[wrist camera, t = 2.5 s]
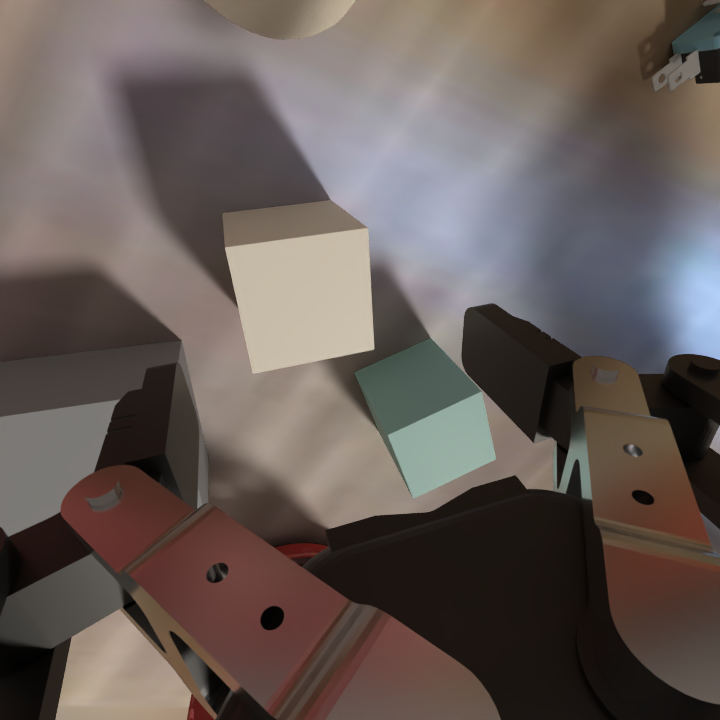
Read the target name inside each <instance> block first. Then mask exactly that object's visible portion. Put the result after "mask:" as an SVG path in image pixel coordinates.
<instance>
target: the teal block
mask: <svg viewBox="0 0 720 720" xmlns="http://www.w3.org/2000/svg"><path fill="white" fill-rule="evenodd" d="M354 373H355V376H356V378H357V380H358V383H359V385H360V388H361V390H362V393H363V395H364V397H365V400H366V402H367V405H368V407H369V409H370V412H371V414H372V417H373V419H374V421H375V424H376V426H377V429H378V431H379V433H380V435H381V437H382V439H383V441H384V443H385V445H386V447H387V449H388V451H389V452H390V454H391V456H392V458H393V460H394V462H395V464H396V466H397V468H398V470H399V472H400V474H401V476H402V478H403V480H404V482H405V484H406V486H407V488H408V490H409V492H410V494H411V495H412V497H413V499H414V498H416V497H418V496H421V495H423V494H425V493H427V492H429V491H431V490H433V489H435V488H437V487H439V486H441V485H443V484H446V483H448V482H450V481H452V480H454V479H456V478H458V477H460V476H462V475H464V474H466V473H468V472H471V471H473V470H475V469H477V468H479V467H481V466H483V465H485V464H487V463H489V462H491V461H494V460H496V457H495V452H494V447H493V442H492V438H491V433H490V428H489V424H488V419H487V414H486V409H485V405H484V400H483V395H482V391H481V390H480V389H479V388H478V387H477V386H476V385H475V384H474V383H473V382H472V381H471V380H470V379H469V378H468V377H467V375H466V374H465V373H464V372H463V371H462V370H461V369H460V368H459V367H458V366H457V365H456V364H455V363H454V362H453V361H452V360H451V359H450V358H449V357H448V356H447V355H446V353H445V352H444V351H443V350H442V349H441V348H440V347H439V346H438V345H437V344H436V343H435V342H434V341H433V340H432V339H431V338H429V339H427V340H424V341H422V342H420V343H418V344H416V345H413V346H411V347H409V348H407V349H405V350H402V351H400V352H398V353H396V354H394V355H391V356H389V357H387V358H385V359H383V360H380V361H378V362H376V363H374V364H372V365H369V366H367V367H365V368H363V369H361V370H358V371H356V372H354Z"/></svg>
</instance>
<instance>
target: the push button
mask: <svg viewBox="0 0 720 720" xmlns="http://www.w3.org/2000/svg"><path fill="white" fill-rule="evenodd" d="M718 3H720V0H706V1H705V2H704V3H703V7H704V6H709V5H713V4H718ZM672 47H673V55H674V56H673V57H671V58H670V59H669V63H668V64H667V65H666V66H665V67H663V68H662V69H661V70H659V71H658V72H657V73H656V74H654V75H653V76H652V78H651V81H652V86H653V91H655V92H657V91H658V90H659V89H660V88H662V87H663V86H664V85H665V84H667V83H668V86H669V90H670V91H673V90H674V89H675V88H677V87H678V86H679V85H680V84H682V83H683V82H684V81H685V80H687V79H688V78H689V80H691V79H692V78H694V77H695V79H696V83H697V84H702V83H719V82H720V4H719V5H718V6H716V7H715V8H714V9H713V10H711V11H710V12H709V13H708V14H706V15H705V16H704V17H703V18H701V19H700V20H699V21H698V22H696V23H695V24H694V25H693V26H691V27H690V28H689V29H688V30H686V31H685V32H684V33H683V34H681V35H680V36H679V37H678V38H676V39H675V40H674V41H673V42H672ZM661 74H664V80H663V81H662V83H659V77H660V75H661ZM677 78H680V79H679V81H678V82H676V81H675V80H676V79H677Z"/></svg>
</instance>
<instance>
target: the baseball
mask: <svg viewBox="0 0 720 720" xmlns="http://www.w3.org/2000/svg"><path fill="white" fill-rule="evenodd" d="M204 1H205V2H206V3H207V4H208V5H210V6H211V7H212V8H213V9H215V10H216V11H217V12H218V13H220V14H221V15H223V16H224V17H226V18H227V19H228V20H230V21H231V22H233V23H235V24H237V25H238V26H240V27H242V28H244V29H246V30H248V31H251V32H253V33H256V34H258V35H261V36H265V37H268V38H273V39H280V40H285V39H301V38H306V37H310V36H313V35H315V34H318V33H320V32H322V31H324V30H326V29H328V28H330V27H332V26H333V25H335V24H336V23H337V22H338V21H339V20H340V19H341V18H342V17H343V16H344V15H345V14H346V12H347V11H348V10H349V8H350V7H351V6H352V5H353V4H354V2H355V0H204Z"/></svg>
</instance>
